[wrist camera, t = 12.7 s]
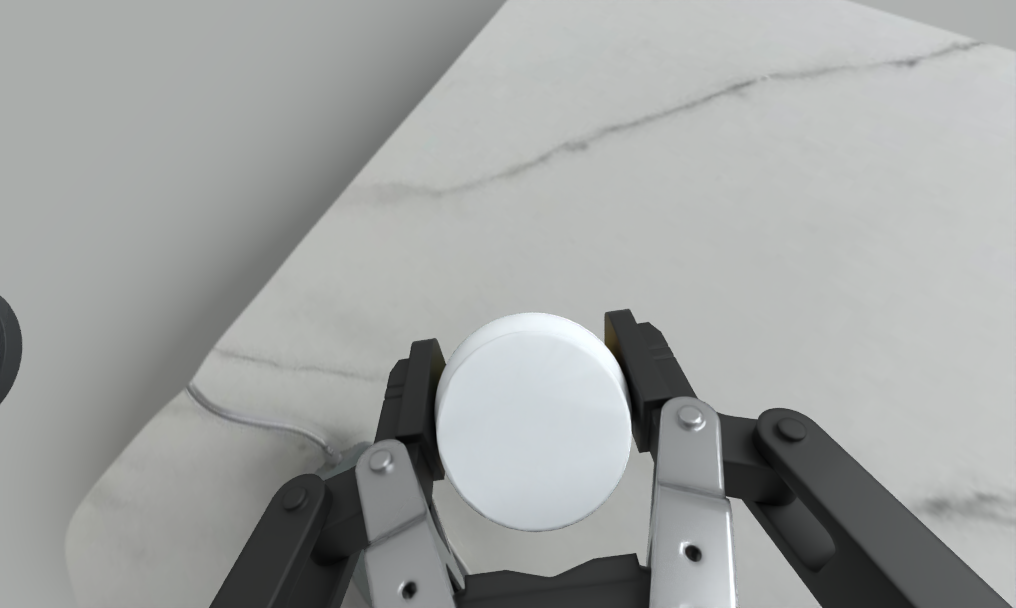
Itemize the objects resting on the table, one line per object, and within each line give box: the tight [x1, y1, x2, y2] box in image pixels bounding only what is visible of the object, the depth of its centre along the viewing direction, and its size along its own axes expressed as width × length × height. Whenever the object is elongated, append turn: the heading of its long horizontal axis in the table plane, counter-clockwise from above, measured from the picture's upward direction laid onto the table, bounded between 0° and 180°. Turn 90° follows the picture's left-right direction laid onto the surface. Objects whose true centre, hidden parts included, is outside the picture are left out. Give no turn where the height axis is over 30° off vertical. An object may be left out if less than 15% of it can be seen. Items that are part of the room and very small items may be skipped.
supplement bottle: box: [434, 313, 632, 532], centre depth 13 cm, size 5×5×10 cm
